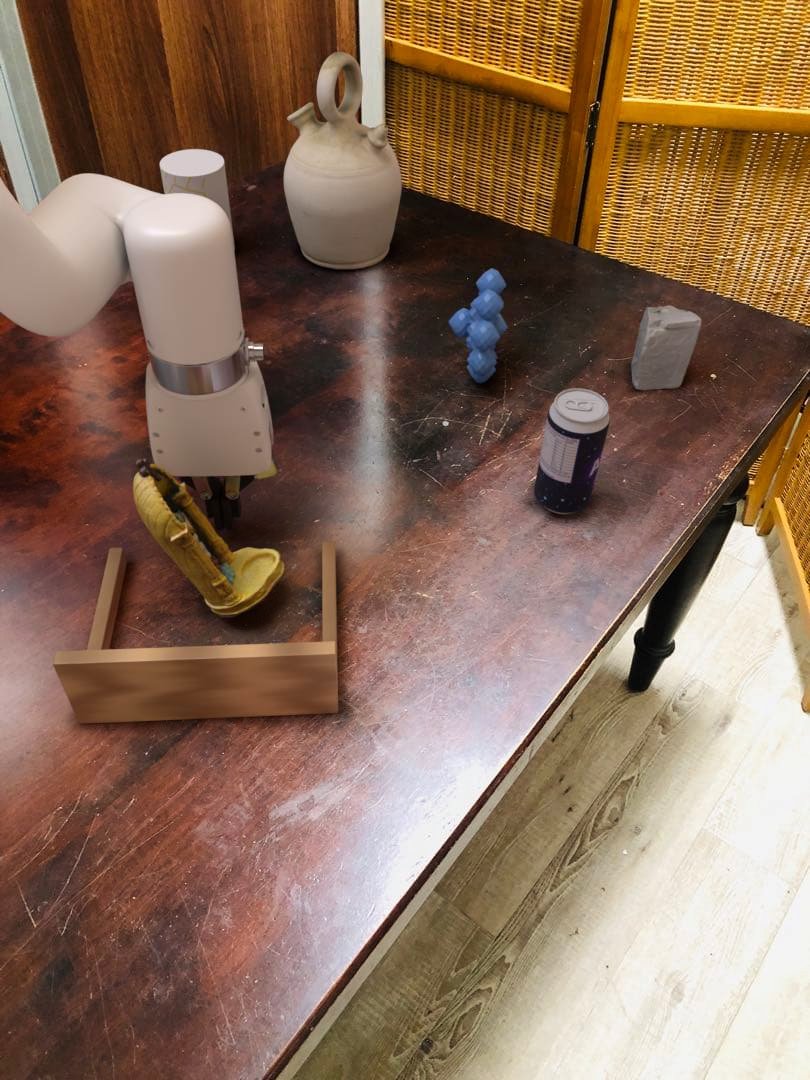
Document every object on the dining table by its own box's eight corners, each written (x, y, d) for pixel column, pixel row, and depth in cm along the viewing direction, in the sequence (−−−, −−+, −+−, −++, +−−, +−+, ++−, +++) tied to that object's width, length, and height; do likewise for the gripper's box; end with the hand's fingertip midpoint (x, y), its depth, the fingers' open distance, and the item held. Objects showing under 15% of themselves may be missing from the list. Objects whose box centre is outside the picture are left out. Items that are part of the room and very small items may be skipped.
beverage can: (588, 523, 86) (612, 427, 78) (530, 515, 87) (548, 419, 78) (590, 484, 90) (613, 389, 82) (534, 477, 91) (552, 382, 82)
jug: (266, 246, 122) (248, 49, 104) (351, 212, 130) (348, 24, 112) (336, 290, 115) (330, 87, 97) (422, 252, 122) (431, 57, 104)
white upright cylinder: (162, 252, 120) (146, 164, 112) (204, 229, 125) (191, 144, 116) (206, 270, 117) (192, 182, 109) (246, 246, 122) (237, 160, 113)
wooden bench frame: (79, 724, 69) (52, 664, 64) (114, 562, 81) (94, 499, 75) (338, 713, 71) (335, 653, 65) (335, 555, 82) (333, 493, 77)
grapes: (450, 337, 108) (457, 246, 99) (505, 343, 108) (517, 252, 99) (439, 394, 100) (446, 300, 91) (499, 400, 100) (511, 307, 91)
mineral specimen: (707, 378, 102) (714, 323, 96) (638, 402, 102) (641, 349, 96) (676, 341, 107) (681, 287, 101) (610, 364, 107) (611, 311, 100)
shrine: (147, 623, 76) (109, 498, 66) (173, 554, 82) (142, 429, 71) (277, 635, 76) (261, 511, 65) (295, 565, 81) (282, 440, 71)
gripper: (294, 330, 73) (306, 491, 86) (111, 331, 72) (151, 494, 85) (291, 385, 68) (304, 547, 81) (94, 386, 67) (139, 550, 80)
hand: (226, 519), depth 83 cm, fingers closed
